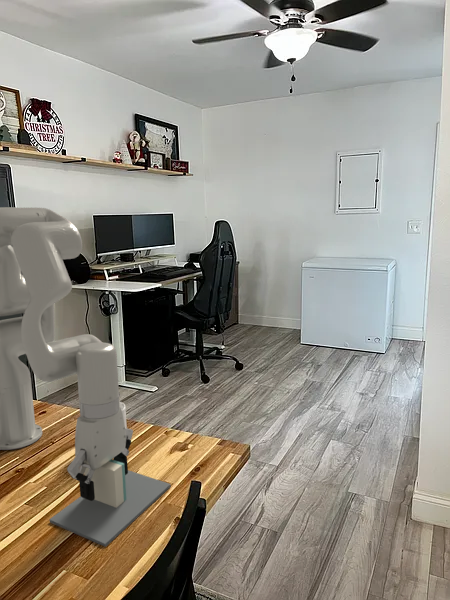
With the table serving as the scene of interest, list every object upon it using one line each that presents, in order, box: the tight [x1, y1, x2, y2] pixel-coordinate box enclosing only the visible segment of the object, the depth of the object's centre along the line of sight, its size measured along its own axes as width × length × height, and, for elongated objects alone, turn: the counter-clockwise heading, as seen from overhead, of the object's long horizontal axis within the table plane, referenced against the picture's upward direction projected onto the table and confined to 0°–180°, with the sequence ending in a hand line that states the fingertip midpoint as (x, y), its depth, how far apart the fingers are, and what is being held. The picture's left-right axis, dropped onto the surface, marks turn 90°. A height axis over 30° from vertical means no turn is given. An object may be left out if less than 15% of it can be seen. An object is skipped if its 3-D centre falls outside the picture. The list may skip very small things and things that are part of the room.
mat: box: [49, 469, 172, 547], centre depth 92 cm, size 14×20×1 cm
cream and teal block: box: [84, 458, 126, 508], centre depth 92 cm, size 8×3×8 cm, turn 62°
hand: (105, 485), depth 92 cm, fingers open, 9 cm apart
